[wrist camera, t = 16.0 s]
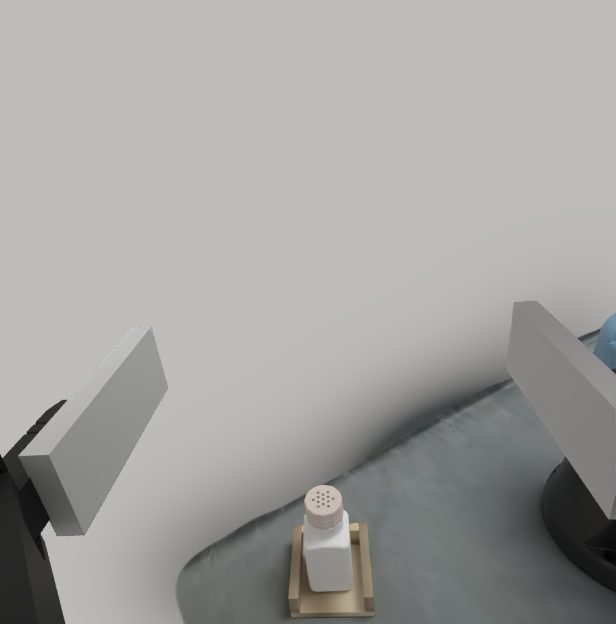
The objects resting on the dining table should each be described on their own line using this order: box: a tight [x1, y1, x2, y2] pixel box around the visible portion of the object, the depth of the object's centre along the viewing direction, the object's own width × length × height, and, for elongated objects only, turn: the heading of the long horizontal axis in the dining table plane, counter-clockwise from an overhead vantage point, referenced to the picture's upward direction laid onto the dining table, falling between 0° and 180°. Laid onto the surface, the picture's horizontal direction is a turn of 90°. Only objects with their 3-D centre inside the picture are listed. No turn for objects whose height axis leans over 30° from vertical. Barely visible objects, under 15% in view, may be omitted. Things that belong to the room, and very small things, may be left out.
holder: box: [288, 523, 374, 617], centre depth 41 cm, size 7×7×3 cm
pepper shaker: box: [303, 485, 353, 592], centre depth 39 cm, size 4×4×10 cm
